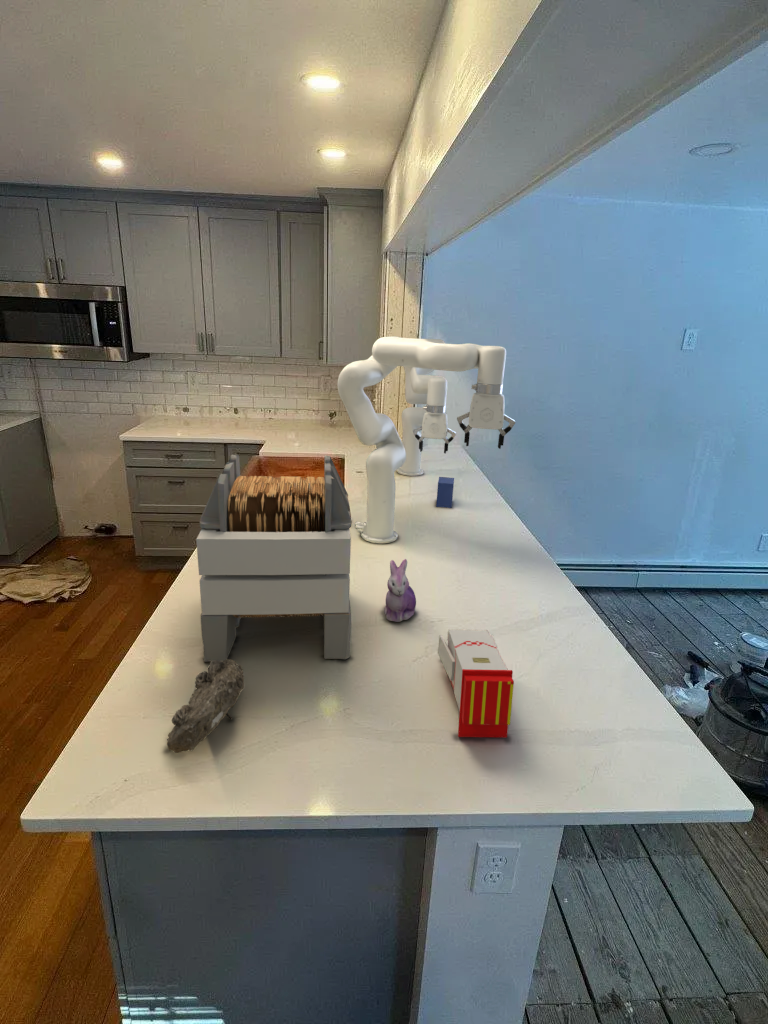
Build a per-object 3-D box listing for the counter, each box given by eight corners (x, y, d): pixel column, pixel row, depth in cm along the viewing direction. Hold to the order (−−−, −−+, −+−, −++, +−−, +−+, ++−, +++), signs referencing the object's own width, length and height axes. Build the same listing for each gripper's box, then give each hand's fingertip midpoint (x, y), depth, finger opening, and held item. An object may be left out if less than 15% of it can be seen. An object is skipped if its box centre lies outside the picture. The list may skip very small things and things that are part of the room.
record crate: (225, 590, 155) (216, 445, 141) (344, 589, 159) (347, 447, 145) (201, 664, 123) (186, 485, 110) (351, 660, 127) (355, 487, 113)
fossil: (192, 660, 117) (244, 628, 112) (224, 691, 120) (276, 661, 115) (142, 746, 98) (202, 712, 93) (182, 779, 101) (242, 748, 96)
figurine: (392, 627, 141) (395, 572, 136) (374, 608, 149) (376, 556, 144) (425, 619, 145) (429, 566, 140) (405, 601, 154) (408, 550, 149)
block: (436, 506, 229) (437, 482, 226) (437, 500, 237) (439, 476, 234) (451, 508, 228) (453, 483, 225) (452, 501, 237) (454, 477, 233)
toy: (488, 613, 130) (523, 677, 101) (484, 667, 133) (517, 744, 104) (435, 612, 130) (455, 676, 101) (432, 666, 133) (451, 743, 103)
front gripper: (459, 389, 164) (454, 447, 170) (520, 393, 162) (512, 451, 168) (459, 386, 171) (455, 441, 177) (518, 389, 169) (511, 445, 175)
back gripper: (413, 409, 222) (410, 452, 227) (457, 412, 220) (454, 455, 225) (415, 406, 229) (413, 448, 235) (458, 409, 227) (455, 451, 232)
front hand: (483, 446), depth 172 cm, fingers open, 9 cm apart
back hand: (433, 451), depth 230 cm, fingers open, 9 cm apart
